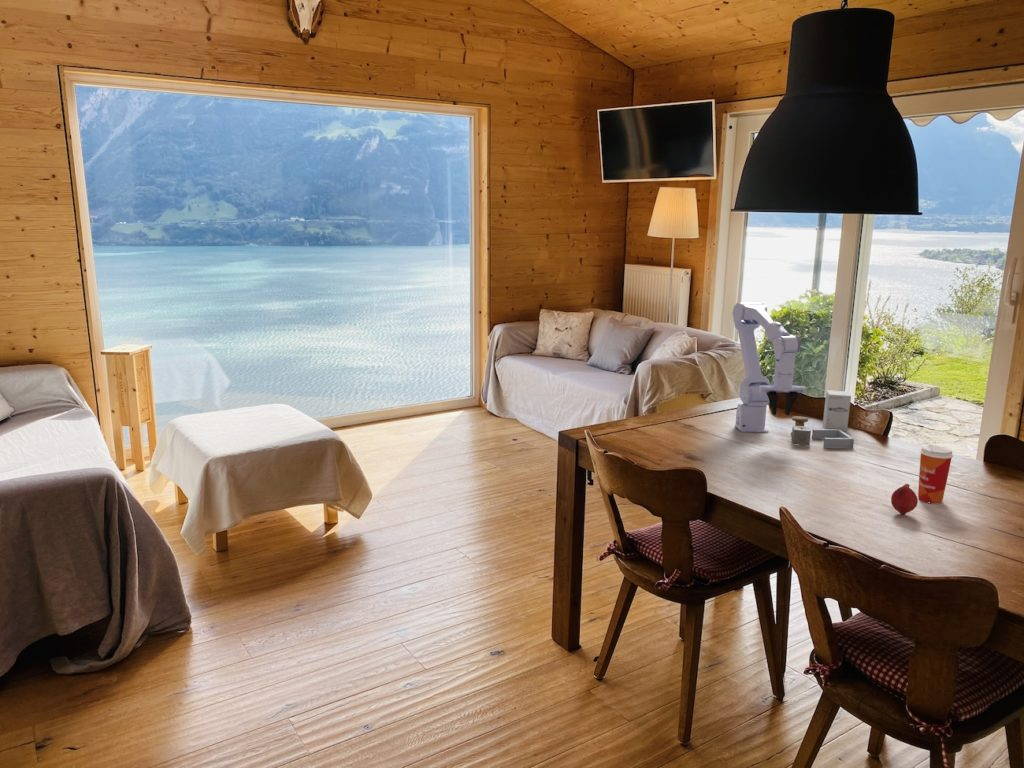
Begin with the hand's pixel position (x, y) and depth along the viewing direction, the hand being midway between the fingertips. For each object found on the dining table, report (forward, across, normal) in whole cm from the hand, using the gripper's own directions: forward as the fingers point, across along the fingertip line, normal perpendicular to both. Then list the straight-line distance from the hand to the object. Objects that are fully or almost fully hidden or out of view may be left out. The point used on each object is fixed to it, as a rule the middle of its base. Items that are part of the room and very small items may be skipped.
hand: (780, 414), depth 247 cm
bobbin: (+9, +10, +8) cm, 16 cm away
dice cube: (+10, +7, 0) cm, 12 cm away
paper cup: (+10, +24, -50) cm, 56 cm away
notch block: (+9, +18, 0) cm, 20 cm away
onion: (+10, +12, -60) cm, 62 cm away
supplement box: (+10, +26, +18) cm, 33 cm away
